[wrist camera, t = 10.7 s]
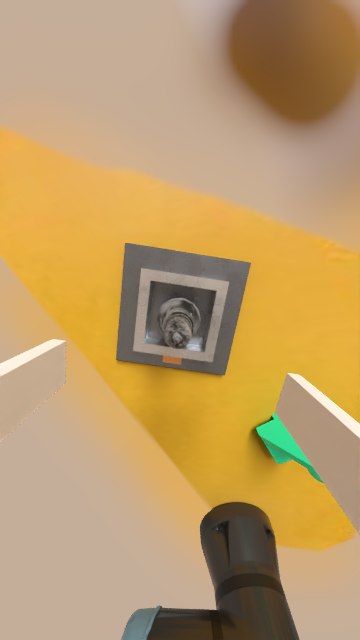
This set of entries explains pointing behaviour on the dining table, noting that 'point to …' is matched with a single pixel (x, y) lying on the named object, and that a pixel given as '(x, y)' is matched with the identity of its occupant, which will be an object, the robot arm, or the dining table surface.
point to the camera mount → (283, 444)
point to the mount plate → (186, 282)
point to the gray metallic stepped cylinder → (178, 321)
